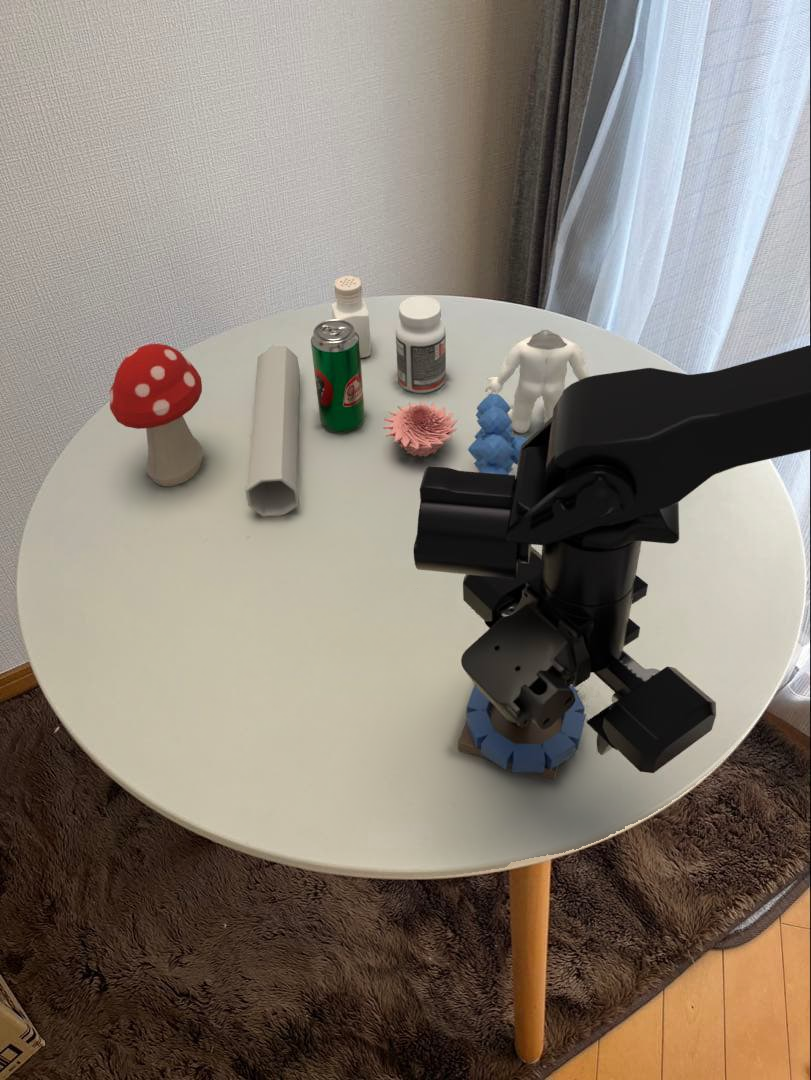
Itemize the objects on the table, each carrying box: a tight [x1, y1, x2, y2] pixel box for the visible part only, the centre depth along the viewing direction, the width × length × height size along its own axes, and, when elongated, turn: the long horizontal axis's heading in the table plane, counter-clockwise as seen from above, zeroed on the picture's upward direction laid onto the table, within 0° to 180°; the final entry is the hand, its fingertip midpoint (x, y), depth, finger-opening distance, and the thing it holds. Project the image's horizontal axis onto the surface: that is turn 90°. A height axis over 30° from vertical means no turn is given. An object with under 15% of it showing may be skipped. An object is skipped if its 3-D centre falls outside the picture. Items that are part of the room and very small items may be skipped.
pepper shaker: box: [330, 275, 372, 359], centre depth 108 cm, size 4×4×10 cm
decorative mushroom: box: [109, 343, 204, 487], centre depth 92 cm, size 10×9×15 cm
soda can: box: [310, 318, 366, 433], centre depth 98 cm, size 5×5×12 cm
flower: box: [382, 401, 458, 458], centre depth 96 cm, size 8×8×6 cm
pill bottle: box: [395, 295, 447, 394], centre depth 103 cm, size 6×6×10 cm
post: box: [457, 689, 579, 780], centre depth 71 cm, size 8×8×8 cm
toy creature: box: [484, 329, 590, 434], centre depth 96 cm, size 12×6×12 cm, turn 87°
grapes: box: [467, 393, 528, 475], centre depth 89 cm, size 12×7×12 cm, turn 177°
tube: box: [244, 344, 300, 518], centre depth 99 cm, size 5×5×25 cm
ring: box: [465, 684, 587, 773], centre depth 72 cm, size 9×10×2 cm
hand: (571, 717), depth 66 cm, fingers open, 7 cm apart
